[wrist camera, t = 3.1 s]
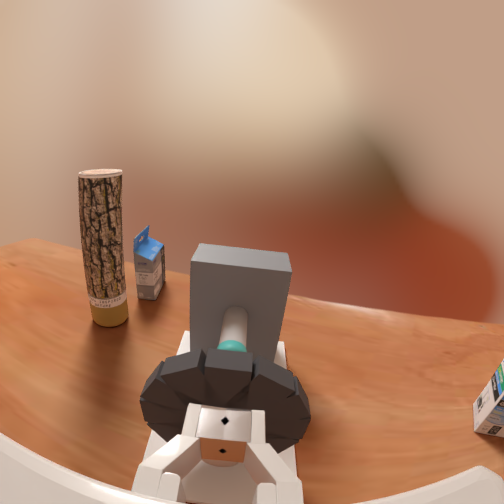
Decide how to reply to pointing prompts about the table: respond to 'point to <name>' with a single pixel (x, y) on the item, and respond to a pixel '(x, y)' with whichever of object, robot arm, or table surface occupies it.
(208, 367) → the ring
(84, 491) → the robot arm
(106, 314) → the paper tube
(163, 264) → the label tape box
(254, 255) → the pipe rig
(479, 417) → the light bulb box
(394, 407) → the table surface
